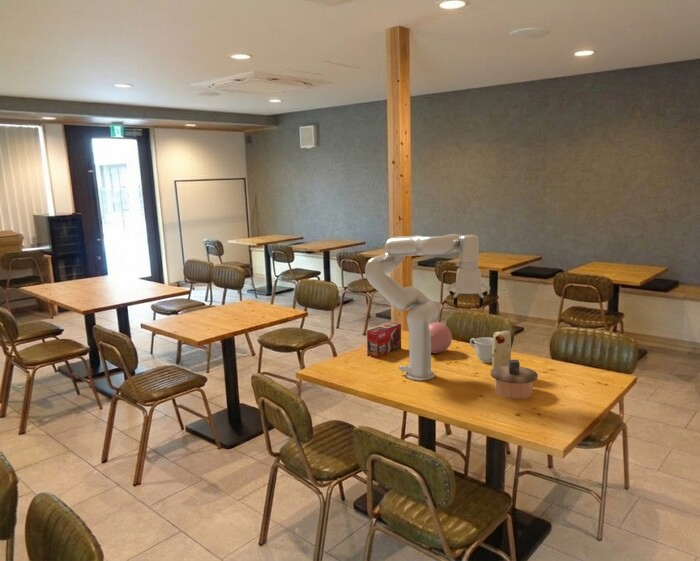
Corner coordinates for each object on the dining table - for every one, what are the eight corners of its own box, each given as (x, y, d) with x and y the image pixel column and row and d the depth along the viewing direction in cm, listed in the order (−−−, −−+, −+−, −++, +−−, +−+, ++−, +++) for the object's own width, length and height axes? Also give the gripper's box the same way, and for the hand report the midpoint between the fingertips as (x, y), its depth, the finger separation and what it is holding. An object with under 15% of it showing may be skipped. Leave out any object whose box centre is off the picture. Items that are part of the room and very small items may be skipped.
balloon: (407, 354, 272) (407, 324, 269) (435, 346, 284) (435, 317, 281) (430, 361, 260) (430, 329, 257) (458, 352, 272) (458, 322, 270)
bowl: (497, 397, 213) (497, 380, 212) (494, 385, 227) (494, 369, 226) (534, 399, 211) (535, 382, 210) (529, 386, 224) (529, 370, 223)
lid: (492, 382, 210) (492, 367, 209) (488, 367, 228) (489, 353, 227) (541, 384, 207) (541, 369, 206) (533, 368, 225) (534, 354, 224)
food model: (499, 379, 233) (500, 334, 230) (487, 375, 239) (488, 331, 235) (514, 374, 239) (515, 330, 235) (502, 370, 244) (503, 327, 241)
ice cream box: (391, 346, 285) (391, 322, 283) (401, 348, 281) (400, 323, 279) (367, 356, 270) (366, 330, 268) (377, 358, 266) (376, 332, 264)
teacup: (476, 354, 269) (476, 334, 267) (504, 360, 258) (504, 340, 257) (463, 360, 260) (463, 340, 258) (491, 366, 250) (491, 345, 248)
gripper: (447, 266, 218) (446, 308, 221) (491, 267, 215) (490, 309, 218) (447, 264, 225) (446, 304, 228) (489, 264, 222) (489, 305, 225)
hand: (468, 306), depth 223 cm, fingers open, 9 cm apart
